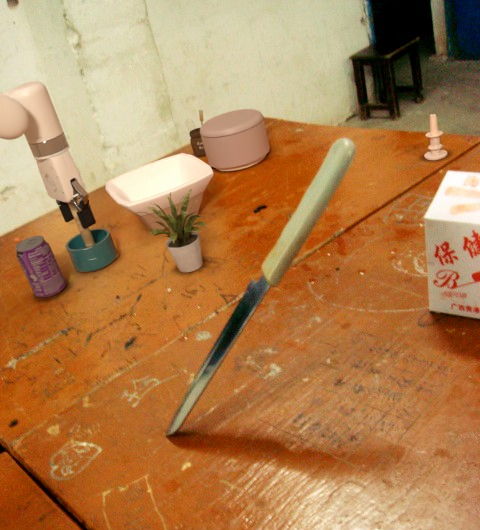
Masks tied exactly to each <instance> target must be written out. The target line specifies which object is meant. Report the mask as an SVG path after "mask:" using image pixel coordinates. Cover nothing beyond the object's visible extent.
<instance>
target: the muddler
mask: <svg viewBox="0 0 480 530" xmlns="http://www.w3.org/2000/svg"><path fill="white" fill-rule="evenodd" d="M76 201H77V203H78V204H79V199H78V200H76ZM68 205H69V207H70V210H71V212H72V214H73V217H74V219H73V220H74V221H75V224H76V226H77V229H78V232H79V234H81V236H82V239H83V241H84V244H85V246H86V248H87V247H91V246H93V245H95V242H94V239H93V237H92V234H91V232H90V230H91V229H90V227H88V228H86V229H83V228H82V225H81V223H80V220H79V218H78V216H77V213H76V212H78V211H77V209H76V208H75V206H74V205H73V203H72V202H71V201H70V202H69V203H68Z"/></svg>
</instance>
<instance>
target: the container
mask: <svg viewBox="0 0 480 530" xmlns="http://www.w3.org/2000/svg"><path fill="white" fill-rule="evenodd" d="M202 124H203V125H202V126H200V127H199V128H200V135H201V138H202V142H203V146H204V149H205V153H206V155H205V156H206V160H207V164H208V165H209V166H211V168H215V170H217V171H221V172H233V171H234V172H235V171H239V170H243V169H247V168H249V167H252V166H255V165H256V164H258V163H260V162H261V161H263V160H264V159H265V158H266V156H267V154H268V153H269V152H270V150H271V146H270V141H269V137H268V131H267V128H266V122H265V118H264V114H263V113H262V112H261V111H260V110H257V109H255V108H254V109H253V108H241V109H235V110H232V111H227V112H224V113H221V114H217V115H215V116H214V117H211V118H209V119H207V120H206V121H204V123H202Z"/></svg>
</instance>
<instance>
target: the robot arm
mask: <svg viewBox="0 0 480 530" xmlns="http://www.w3.org/2000/svg"><path fill="white" fill-rule="evenodd" d="M23 135H24V137H25V140H26V142H27V144H28V146H29V149H30V152H31V154H32V156H33V159H34V160H35V162H36V166H37V168H38V171H39V174H40V177H41V180H42V182H43V186H44V188H45V190H46V192H47V193H46V194H47V195H48V196H49V197H50V198H51V199H54V200H55V202H56V203H55V204H56V205H57V206H58V209H59V211H60V213H61V216H62V218H63V220H64V222H65V223H69V222H72V221H74V220H75V219H74V217H73V214H72V212H71V210H70V207H69V205H68V203H69V202H70V201H71V202H72V203H73V205H74V206H75V208H76V209H77V211H78V212H76V213H77V216H78V218H79V220H80V223H81V225H82V228H83V229H86V228H88V227H89V228H90V227H92V226H94V225H96V224H97V220H96V218H95V216H94V213H93V210H92V207H91V203H90V199H89V193H88V191H87V190H86V187H85V183H84V181H83V179H82V176H81V173H80V172H79V170H78V167H77V164H76V162H75V161H74V158H73V156H72V155H71V153H70V151H69V149H70V144H69V142H68V140H67V137H66V134H65V131H64V129H63V125H62V124H61V122H60V119H59V115H58V114H57V110H56V109H55V106H54V104H53V101H52V99H51V95H50V93H49V91H48V88H47V86H46V85H45V84H44V83H43V82H42V81H30V82H26V83H23V84H19V85H18V86H15V87H13V88H11V90H8V91H3V92H0V139H2V140H7V141H13V140H16V139H19V138H21V137H22V136H23ZM76 200H78V202H79V204H78V203H77V201H76Z"/></svg>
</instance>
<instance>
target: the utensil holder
mask: <svg viewBox="0 0 480 530" xmlns="http://www.w3.org/2000/svg"><path fill="white" fill-rule="evenodd" d="M198 114H199V115H198V117H199V122H200V125H201V126H202V125H203V124H204V123H203V122H204V111H203V109H199V110H198ZM189 123H191V126H189ZM185 126H186V128H187V129H188V131H189V133H188V134H189V135H188V136H189V138H190V139H189V141H190V142H189V143H190V146H191V150H192V153H193V156H195V157H203V156H206V153H205V149H204V146H203V142H202V138H201V135H200V128H201V126H200V127H196V125H194V123H192V119H190V118H189V119H187V120H186V124H185Z"/></svg>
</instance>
